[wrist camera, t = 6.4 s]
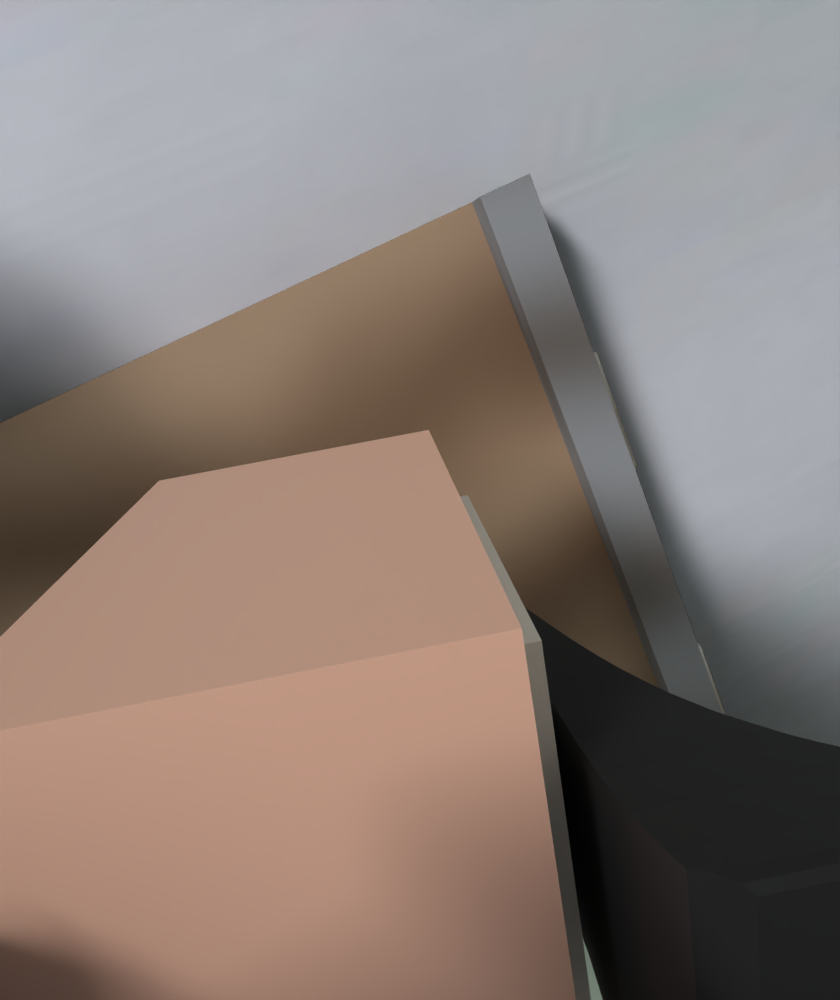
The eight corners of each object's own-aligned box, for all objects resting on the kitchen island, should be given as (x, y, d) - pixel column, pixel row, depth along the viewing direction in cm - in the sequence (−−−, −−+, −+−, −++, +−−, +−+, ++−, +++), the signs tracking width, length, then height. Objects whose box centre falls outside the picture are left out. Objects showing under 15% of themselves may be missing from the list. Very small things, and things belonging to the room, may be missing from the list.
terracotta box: (262, 831, 14) (168, 1359, 7) (159, 480, 12) (-120, 754, 5) (505, 781, 14) (644, 1255, 7) (446, 426, 12) (563, 619, 5)
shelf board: (-122, 481, 19) (-188, 508, 17) (515, 183, 18) (538, 169, 16) (238, 982, 25) (226, 1053, 23) (731, 776, 24) (770, 828, 22)
